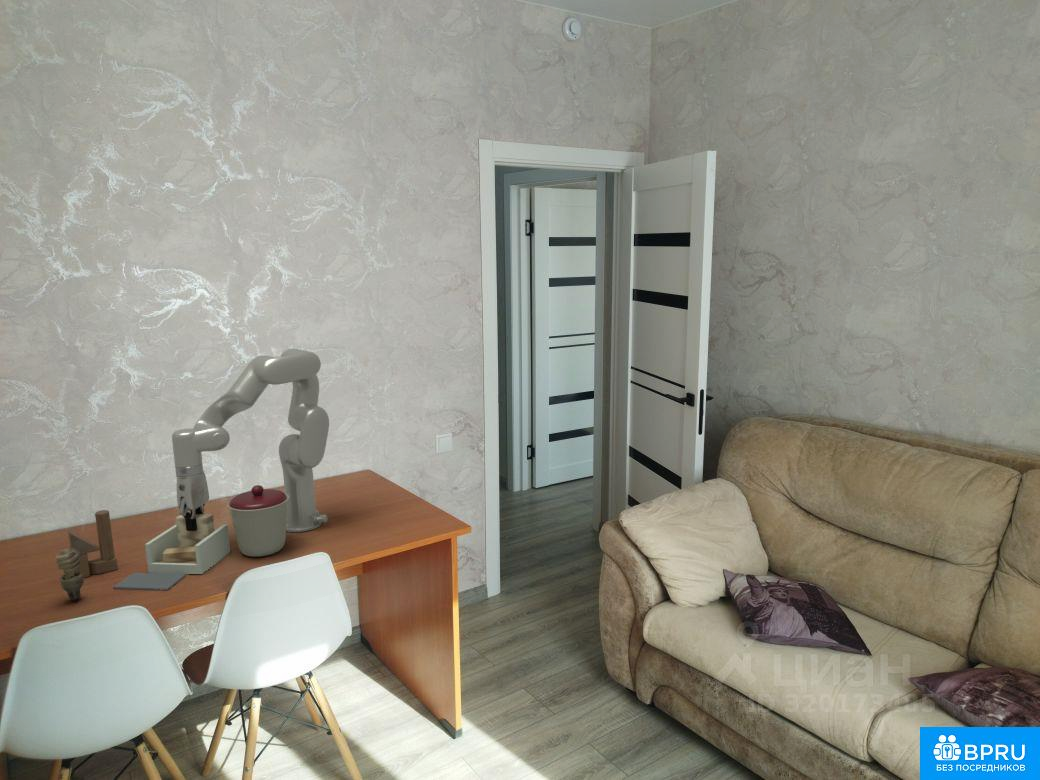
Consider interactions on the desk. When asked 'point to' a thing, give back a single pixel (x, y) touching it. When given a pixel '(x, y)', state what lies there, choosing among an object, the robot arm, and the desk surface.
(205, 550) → the tray
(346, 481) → the desk surface
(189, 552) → the oak offcut
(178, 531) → the birch block
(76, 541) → the brown wooden angled piece
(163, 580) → the slate pad
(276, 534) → the canister
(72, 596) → the light bulb
